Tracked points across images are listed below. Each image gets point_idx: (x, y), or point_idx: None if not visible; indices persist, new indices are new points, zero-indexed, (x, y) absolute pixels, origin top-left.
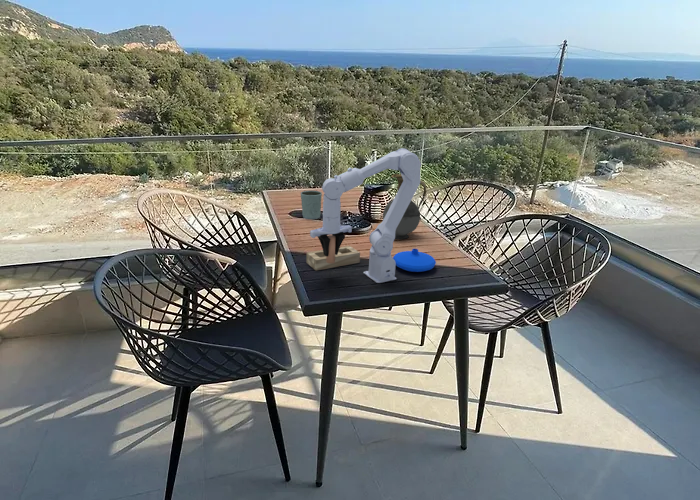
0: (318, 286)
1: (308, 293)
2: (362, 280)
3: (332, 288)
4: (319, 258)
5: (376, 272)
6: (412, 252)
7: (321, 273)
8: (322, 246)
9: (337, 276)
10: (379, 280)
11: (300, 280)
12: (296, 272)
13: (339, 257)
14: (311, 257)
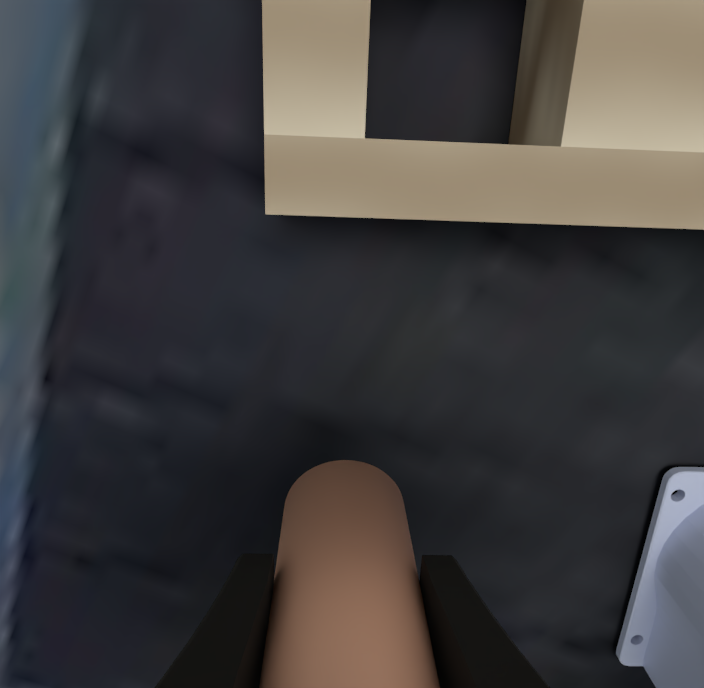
0: (155, 521)
1: (29, 589)
2: (556, 568)
3: None
4: (343, 175)
5: (691, 674)
6: None
7: (304, 293)
8: (179, 678)
9: (414, 421)
10: (647, 665)
11: (31, 351)
12: (43, 138)
13: (642, 225)
14: (265, 33)
